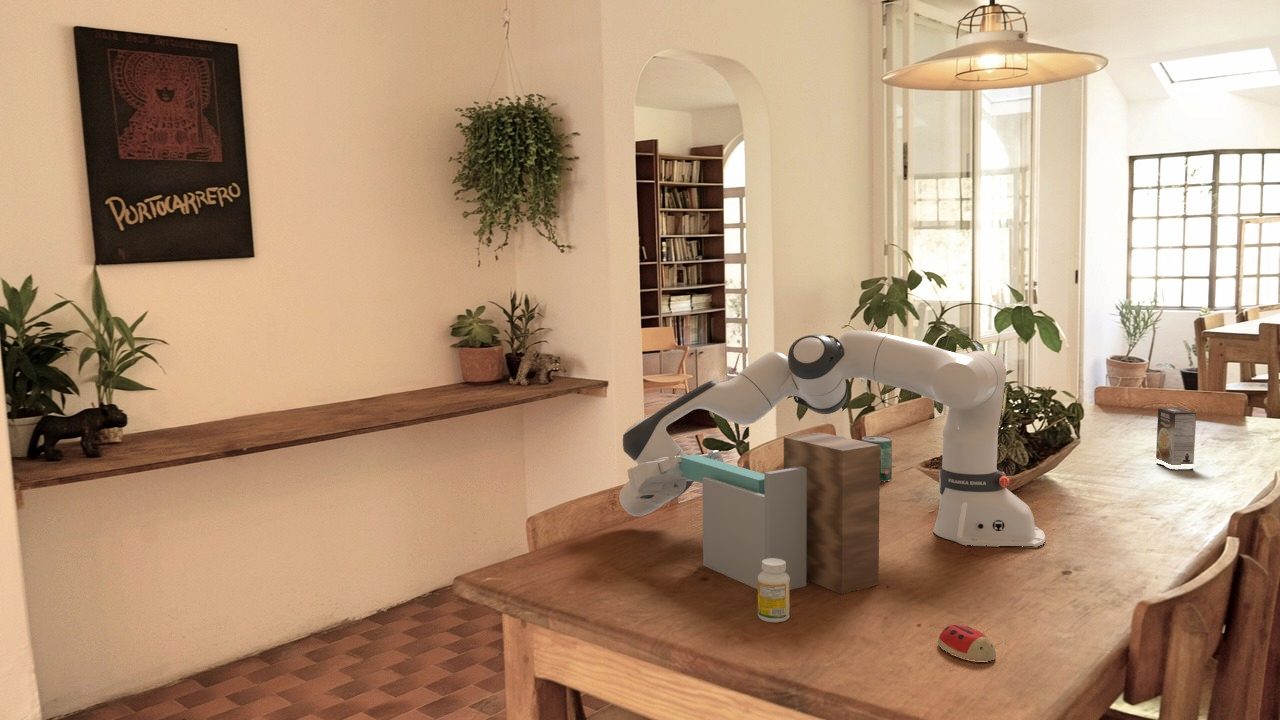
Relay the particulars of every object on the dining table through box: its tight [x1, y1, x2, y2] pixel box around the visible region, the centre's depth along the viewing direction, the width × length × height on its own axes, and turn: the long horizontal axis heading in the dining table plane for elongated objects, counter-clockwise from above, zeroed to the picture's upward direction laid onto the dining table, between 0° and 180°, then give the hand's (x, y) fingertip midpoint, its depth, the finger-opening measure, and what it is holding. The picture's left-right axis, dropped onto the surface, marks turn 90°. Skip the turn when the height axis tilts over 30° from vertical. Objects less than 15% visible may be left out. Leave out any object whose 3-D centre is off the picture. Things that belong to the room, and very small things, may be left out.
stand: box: [783, 431, 881, 595], centre depth 184 cm, size 16×9×26 cm, turn 32°
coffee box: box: [1155, 406, 1197, 465], centre depth 273 cm, size 9×6×16 cm
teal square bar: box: [679, 454, 765, 495], centre depth 193 cm, size 26×4×4 cm, turn 32°
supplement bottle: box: [757, 558, 791, 623], centre depth 165 cm, size 5×5×10 cm
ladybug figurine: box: [937, 624, 997, 662], centre depth 150 cm, size 7×10×4 cm
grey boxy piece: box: [702, 467, 807, 591], centre depth 186 cm, size 20×8×22 cm, turn 32°
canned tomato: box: [861, 435, 893, 483], centre depth 265 cm, size 8×8×11 cm
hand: (697, 456), depth 199 cm, fingers open, 8 cm apart
